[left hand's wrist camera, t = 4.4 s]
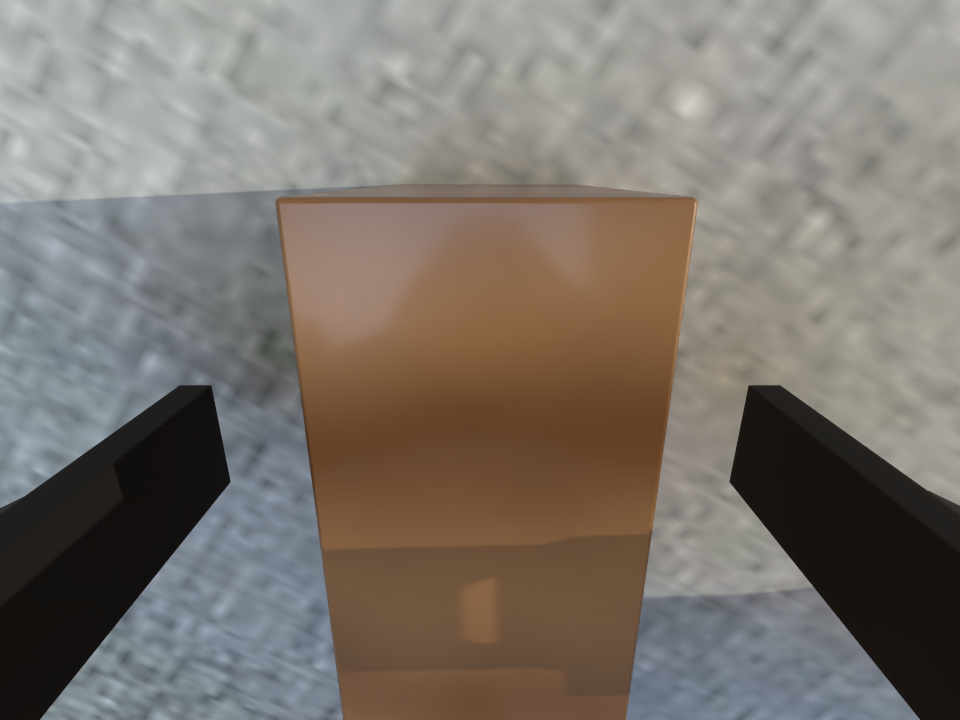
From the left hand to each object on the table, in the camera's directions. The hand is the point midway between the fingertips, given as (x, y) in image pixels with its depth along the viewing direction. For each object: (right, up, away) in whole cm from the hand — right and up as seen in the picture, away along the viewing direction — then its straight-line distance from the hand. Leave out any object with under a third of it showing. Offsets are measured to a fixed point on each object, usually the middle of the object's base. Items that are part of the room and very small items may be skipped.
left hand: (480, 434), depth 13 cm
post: (0, -27, +13) cm, 30 cm away
